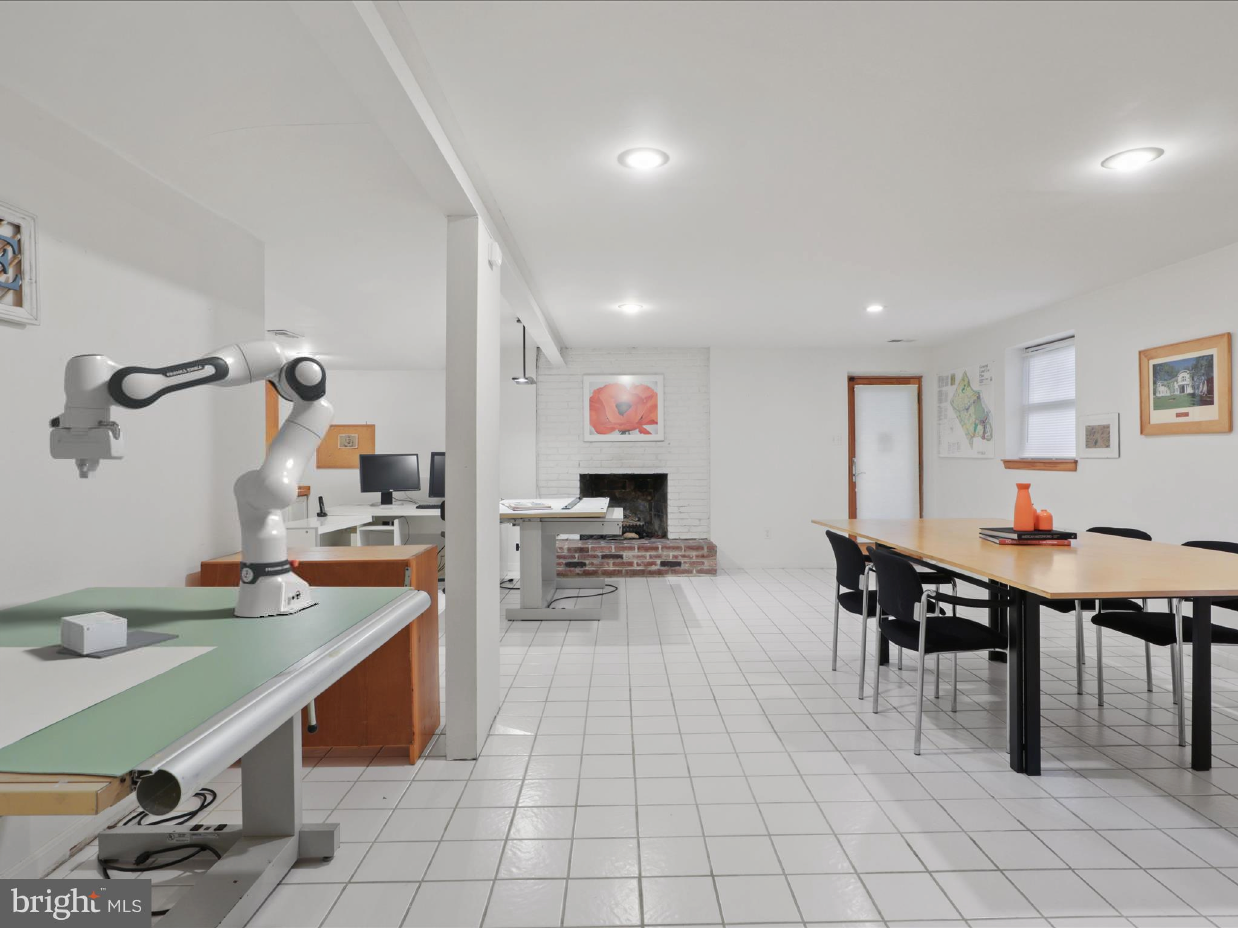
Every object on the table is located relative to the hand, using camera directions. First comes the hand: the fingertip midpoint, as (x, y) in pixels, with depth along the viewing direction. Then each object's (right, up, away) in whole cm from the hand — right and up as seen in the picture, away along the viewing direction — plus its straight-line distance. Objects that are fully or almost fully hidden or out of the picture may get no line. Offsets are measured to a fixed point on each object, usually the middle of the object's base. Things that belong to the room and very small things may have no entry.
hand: (87, 478), depth 164 cm
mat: (+16, -37, -11) cm, 42 cm away
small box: (+7, -34, -11) cm, 36 cm away
